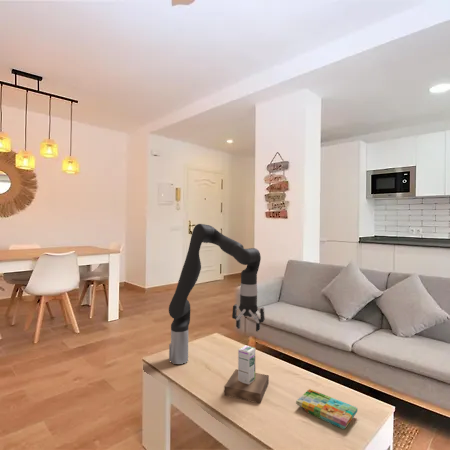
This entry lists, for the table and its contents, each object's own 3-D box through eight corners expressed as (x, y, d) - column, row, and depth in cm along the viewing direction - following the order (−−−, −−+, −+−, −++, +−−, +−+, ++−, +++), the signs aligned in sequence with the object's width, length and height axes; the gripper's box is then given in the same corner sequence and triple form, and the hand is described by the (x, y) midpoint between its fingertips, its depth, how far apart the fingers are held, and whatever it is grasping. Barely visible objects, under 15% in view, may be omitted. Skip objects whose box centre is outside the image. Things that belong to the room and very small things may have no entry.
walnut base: (224, 395, 133) (224, 386, 133) (235, 377, 148) (235, 369, 148) (260, 403, 128) (260, 393, 128) (268, 383, 143) (268, 375, 143)
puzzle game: (346, 420, 111) (296, 398, 124) (346, 433, 111) (296, 410, 124) (357, 406, 120) (309, 386, 133) (357, 417, 120) (309, 397, 133)
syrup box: (249, 385, 134) (249, 352, 134) (237, 380, 137) (238, 348, 137) (255, 379, 139) (256, 347, 138) (244, 375, 142) (244, 344, 142)
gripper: (230, 293, 136) (230, 330, 136) (262, 297, 131) (261, 334, 131) (235, 290, 143) (235, 324, 143) (266, 293, 138) (265, 328, 138)
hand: (248, 329), depth 137 cm, fingers open, 8 cm apart
